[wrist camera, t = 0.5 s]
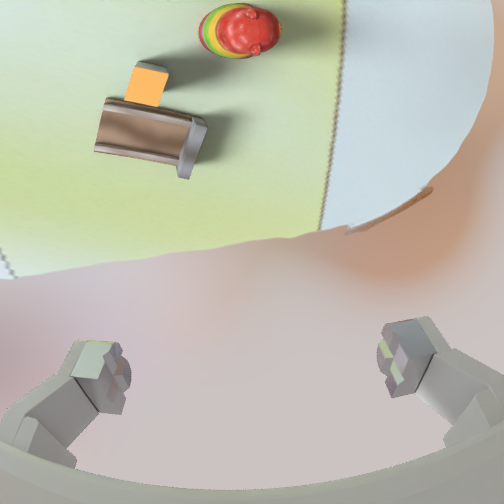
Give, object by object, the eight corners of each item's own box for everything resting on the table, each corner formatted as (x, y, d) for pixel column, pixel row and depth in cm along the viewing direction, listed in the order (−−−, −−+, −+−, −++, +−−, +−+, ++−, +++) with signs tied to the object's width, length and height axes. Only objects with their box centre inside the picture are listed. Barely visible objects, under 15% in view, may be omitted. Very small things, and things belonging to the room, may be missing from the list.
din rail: (106, 97, 42) (101, 105, 38) (202, 118, 51) (207, 127, 46) (94, 149, 47) (89, 162, 43) (185, 165, 56) (188, 179, 52)
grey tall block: (138, 61, 40) (134, 66, 32) (165, 67, 42) (169, 74, 35) (129, 87, 43) (124, 100, 35) (156, 93, 45) (157, 107, 37)
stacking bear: (255, 57, 46) (298, 70, 33) (198, 61, 43) (220, 73, 31) (254, 3, 38) (300, -6, 26) (195, 5, 36) (217, -9, 24)
